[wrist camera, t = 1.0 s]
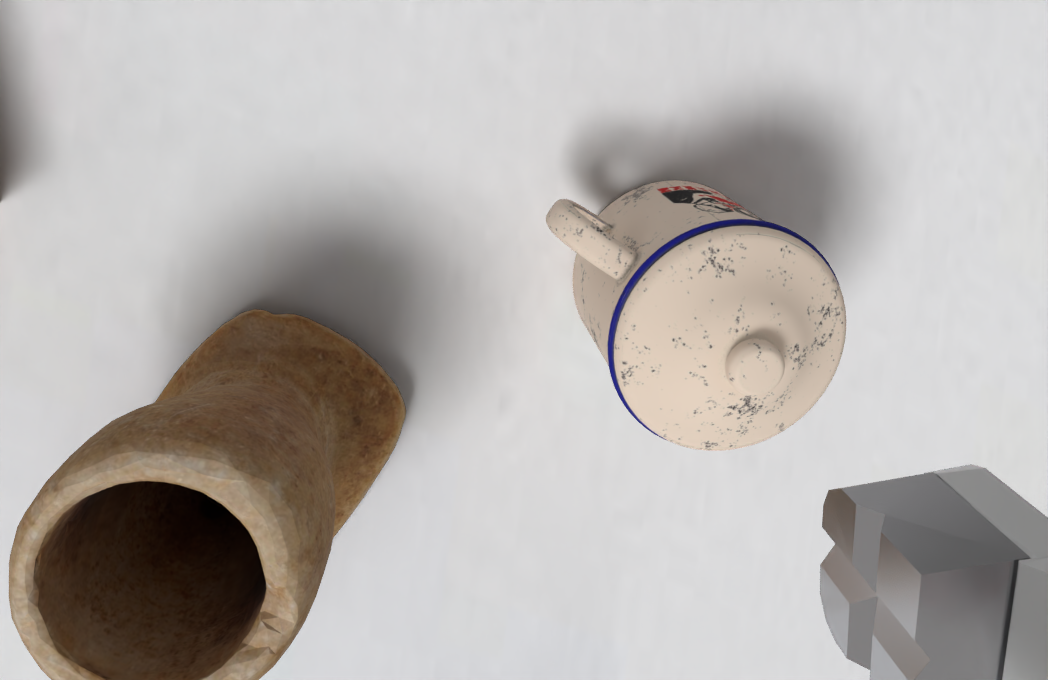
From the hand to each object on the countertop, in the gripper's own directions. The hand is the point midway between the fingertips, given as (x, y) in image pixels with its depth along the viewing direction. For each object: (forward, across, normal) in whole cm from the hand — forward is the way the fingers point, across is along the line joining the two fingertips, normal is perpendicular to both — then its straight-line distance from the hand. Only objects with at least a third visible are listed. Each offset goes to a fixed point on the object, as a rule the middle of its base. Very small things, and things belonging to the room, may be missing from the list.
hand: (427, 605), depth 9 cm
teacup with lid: (+32, -10, +7) cm, 34 cm away
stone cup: (+32, +9, +13) cm, 36 cm away
